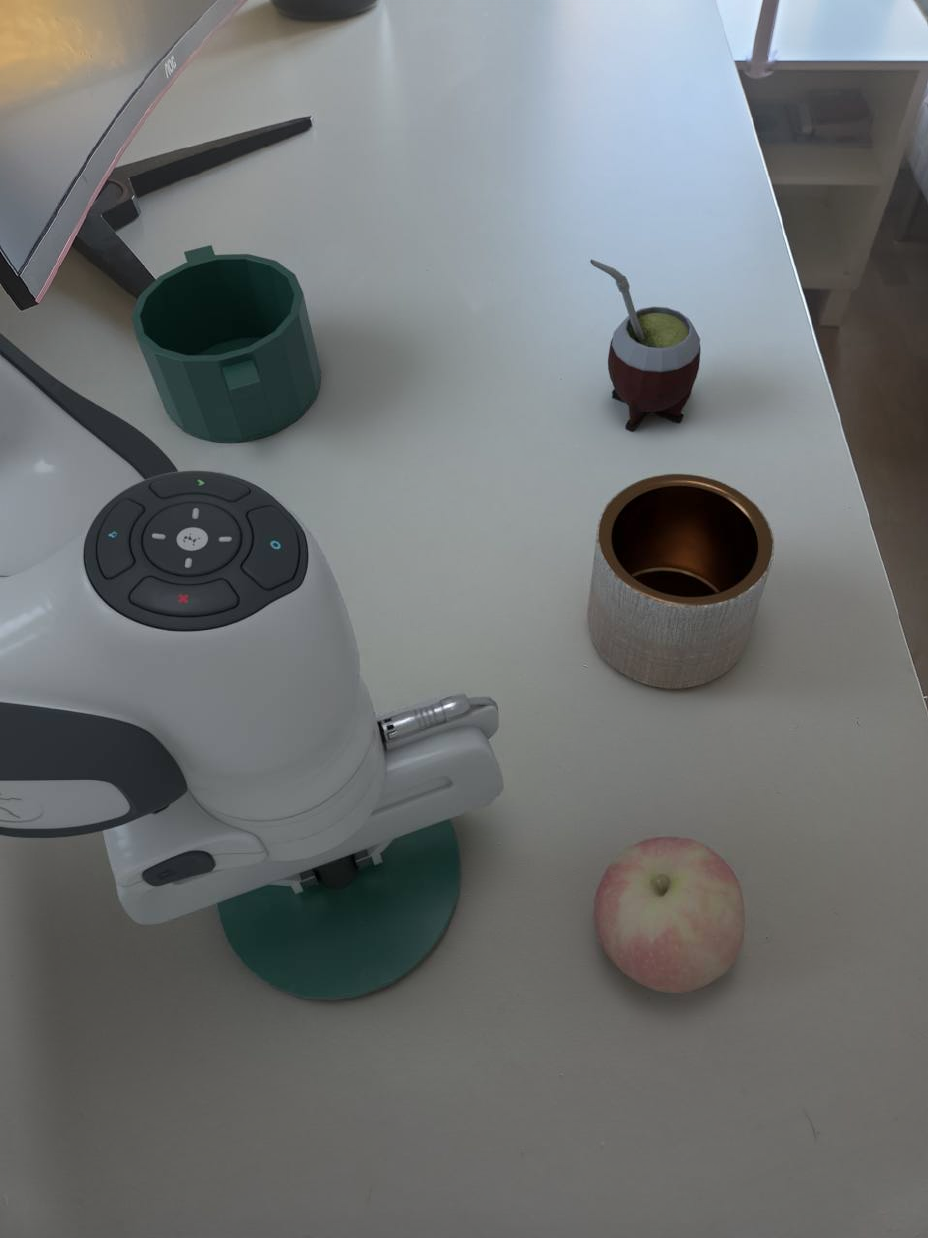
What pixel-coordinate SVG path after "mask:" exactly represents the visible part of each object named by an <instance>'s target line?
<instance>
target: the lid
mask: <svg viewBox="0 0 928 1238" xmlns="http://www.w3.org/2000/svg"><path fill="white" fill-rule="evenodd" d="M380 855H381V858H382V861H383V862H382V863H379V864H377V865H373V866H371V867H368V868H365V869H362V870H358V867H357V864H356V862H355V858H354V855H353V854H351V855H348V856H345V857H342V858H340V859H337V860H334V861H331V862H329V863H326V864H323V865H320V866H318V867H315V868H314V870H315V872H316V874H317V876H318V878H319V882H320V885H319V886H316V887H314V888H311V889H309V890H306V891H303V892H300V893H298V894H295V892H294V890H293V889H292V887H291V886H280V885H269V884H268V885H266V886H263V887H260V888H257V889H254V890H252V891H249V892H246V893H243V894H241V895H238V896H235V897H233V898H230V899H227V900H224V901H222V902H219V903H216V909H217V916H218V919H219V923H220V926H221V929H222V932H223V934H224V936H225V938H226V940H227V942H228V944H229V946H230V947H231V949H232V950H233V952H234V953H235V955H236V957H237V958H238V959H239V960H240V961H241V962H242V963H243V964H244V965H245V967H246V968H247V969H248V970H249V971H250V972H251V973H253V974H254V975H255V976H256V977H257V978H259V979H260V980H261V981H262V982H264V983H266V984H268V985H269V986H271V987H272V988H274V989H276V990H279V991H281V992H283V993H287V994H288V995H291V996H295V997H298V998H299V997H300V998H303V999H308V1000H317V1001H338V1000H339V1001H341V1000H346V999H352V998H357V997H361V996H365V995H368V994H371V993H374V992H376V991H379V990H381V989H384V988H385V987H387V986H390V985H391V984H394V982H396V981H397V980H399V979H401V978H403V977H404V976H405V975H408V973H409V972H411V971H412V970H413V969H414V968H416V967H417V966H418V965H419V964H420V963H421V962H422V961H423V960H424V959H425V958H426V957H427V955H429V954H430V952H432V951H433V949H434V947H435V946H436V945H437V943H438V942H439V941H440V939H441V938H442V936H443V935H444V932H445V931H446V928H447V927H448V925H449V923H450V922H451V918H452V916H453V914H454V911H455V908H456V904H457V902H458V898H459V893H460V887H461V886H460V885H461V877H462V872H461V871H462V870H461V869H462V867H461V855H460V848H459V843H458V839H457V836H456V832H455V828H454V826H453V824H452V822H451V820H450V819H447V820H444V821H442V822H439V823H436V824H433V825H430V826H428V827H425V828H422V829H419V830H417V831H414V832H411V833H408V834H406V835H403V836H400V837H397V838H395V839H393V840H392V842H391V843H390V844H389V845H388V846H387V847H386V848H385V849H384V850H383V851H382V852H381V853H380Z"/></svg>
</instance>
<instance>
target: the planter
mask: <svg viewBox="0 0 928 1238" xmlns="http://www.w3.org/2000/svg"><path fill="white" fill-rule="evenodd" d="M593 555H594V556H593V562H592V571H591V579H590V587H589V594H588V604H587V623H588V630H589V634H590V637H591V639H592V642H593V644H594V646H595V648H596V650H597V651H598V653H599V654H600V655H601V656H602V658H603V659H604V660H605V661H606V663H608V664H609V665H610V666H611V667H612V668H614V669H615V670H616V671H618V672H619V673H620V674H622V675H624V676H625V677H627V678H628V679H631V680H633V681H635V682H638V683H641V684H643V685H647V686H651V687H655V688H661V689H675V690H676V689H687V688H693V687H694V688H695V687H697V686H701V685H704V684H707V683H709V682H713V680H716V679H718V678H720V677H721V676H722V675H724V674H725V673H727V672H728V671H729V670H730V669H731V668H732V667H733V666H734V665H735V663H737V661H738V660H739V658H740V657H741V655H742V654H743V652H744V650H745V648H746V646H747V644H748V640H749V637H750V634H751V631H752V628H753V626H754V625H753V624H754V623H755V622H754V621H755V618H756V614H757V611H758V608H759V604H760V602H761V598H762V595H763V592H764V589H765V585H766V582H767V579H768V576H769V574H770V570H771V567H772V564H773V562H774V561H773V560H774V556H775V538H774V533H773V530H772V528H771V525H770V523H769V521H768V519H767V517H766V515H765V514H764V513H763V511H762V510H761V508H759V506H758V505H757V504H756V503H755V502H754V501H753V500H751V499H750V498H749V497H748V496H747V495H746V494H744V493H743V492H741V491H740V490H738V489H737V488H735V487H732V486H731V485H729V484H727V483H725V482H722V481H720V480H717V479H714V478H711V477H707V476H704V475H697V474H689V473H667V474H658V475H654V476H650V477H646V478H642V479H640V480H638V481H635V482H633V483H631V484H629V485H627V486H626V487H624V488H623V489H621V490H620V491H619V492H617V493H616V494H615V495H613V497H612V498H611V499H610V500H609V501H608V503H606V505H605V507H604V508H603V510H602V512H601V514H600V516H599V519H598V523H597V526H596V535H595V543H594V552H593Z"/></svg>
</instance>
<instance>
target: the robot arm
mask: <svg viewBox="0 0 928 1238" xmlns="http://www.w3.org/2000/svg"><path fill="white" fill-rule="evenodd" d="M369 691H370V690H369V687H368V686H367V685H366V682H365V680H364V678H363V677H362V674H361V658H360V652H359V645H358V643H357V639H356V634H355V631H354V627H353V624H352V621H351V618H350V615H349V612H348V609H347V606H346V603H345V601H344V598H343V595H342V591H341V590H340V587H339V585H338V583H337V580H336V578H335V575H334V572H333V571H332V568H331V566H330V563H329V561H328V559H327V558H326V555H325V554H324V552H323V550H322V548H321V547H320V545H319V543H318V541H317V540H316V538H315V536H314V535H313V534H312V532H311V531H310V529H309V528H308V527H307V525H306V524H305V523H304V521H302V519H301V518H300V517H299V516H298V514H296V513H295V512H294V511H293V510H292V509H291V508H290V507H288V505H286V504H285V502H283V501H282V500H281V499H279V498H278V497H277V496H275V495H274V494H273V493H271V492H270V491H269V490H267V489H265V488H264V487H262V486H260V485H258V484H257V483H254V482H253V481H251V480H248V479H245V478H242V477H240V476H238V475H233V474H230V473H226V472H220V471H214V470H200V469H199V470H197V469H195V470H194V469H193V470H181V471H180V470H178V469H177V466H176V465H175V464H174V463H173V461H172V460H171V459H170V458H169V456H168V455H167V454H166V453H165V452H164V451H163V450H162V449H161V448H160V447H159V446H158V445H157V444H156V443H155V442H154V441H153V440H152V439H151V438H149V437H148V436H147V435H145V434H144V433H143V432H142V431H140V430H139V429H138V428H137V427H135V426H134V425H132V424H131V423H129V422H127V421H126V420H124V419H123V418H121V417H120V416H118V415H116V414H114V413H113V412H111V411H109V410H107V409H106V408H104V407H102V406H100V405H99V404H98V403H96V402H93V401H92V400H90V399H88V398H86V397H85V396H83V395H81V394H80V393H78V392H77V391H75V390H73V389H72V388H71V387H69V386H67V385H66V384H64V383H63V382H62V381H60V380H59V379H57V378H56V377H55V376H53V374H51V373H50V372H48V371H47V370H46V369H44V368H43V367H42V366H40V365H39V363H36V362H35V361H34V360H33V359H31V357H29V356H28V355H27V354H26V353H25V352H24V351H22V350H21V349H20V348H19V347H17V345H15V344H14V343H13V342H11V341H10V340H9V339H8V337H6V336H4V335H3V334H2V333H1V332H0V836H3V837H11V838H20V839H54V838H55V839H56V838H69V837H78V836H83V835H90V834H94V833H98V832H102V835H103V840H104V844H105V848H106V853H107V856H108V860H109V864H110V868H111V870H112V873H113V876H114V882H115V888H116V894H117V898H118V901H119V903H120V905H121V907H122V908H123V910H124V912H125V913H126V914H127V915H128V916H129V917H130V919H132V921H134V922H135V923H137V924H139V925H159V924H164V923H168V922H169V921H172V920H174V919H177V918H180V917H183V916H186V915H188V914H191V913H194V912H196V911H197V912H198V911H199V910H202V909H205V908H207V907H210V906H211V907H212V906H213V905H217V903H219V902H222V901H224V900H227V899H230V898H233V897H235V896H238V895H241V894H243V893H246V892H249V891H252V890H254V889H257V888H260V887H263V886H266V885H268V884H269V885H280V886H291V887H292V889H293V890H294V892H295V894H298V893H300V892H303V891H306V890H309V889H311V888H314V887H316V886H319V885H320V882H319V878H318V876H317V874H316V872H315V870H314V868H315V867H318V866H320V865H323V864H326V863H329V862H331V861H334V860H337V859H340V858H342V857H345V856H348V855H351V854H353V855H354V858H355V862H356V864H357V867H358V870H362V869H365V868H368V867H371V866H373V865H377V864H379V863H382V862H383V861H382V858H381V855H380V853H381V852H382V851H383V850H384V849H385V848H386V847H387V846H388V845H389V844H390V843H391V842H392V840H393V839H395V838H397V837H400V836H403V835H406V834H408V833H411V832H414V831H417V830H419V829H422V828H425V827H428V826H430V825H433V824H436V823H439V822H442V821H444V820H447V819H449V820H450V819H452V818H455V817H458V816H460V815H464V814H466V813H468V812H472V811H474V810H477V809H481V808H483V807H485V806H487V805H490V804H491V803H492V802H493V801H494V800H496V798H497V797H498V796H500V795H501V793H503V791H504V778H503V774H502V771H501V768H500V765H499V762H498V759H497V757H496V754H495V752H494V749H493V747H492V744H491V742H490V739H491V738H492V737H493V736H494V735H496V733H497V731H498V729H499V726H500V724H499V723H500V722H499V706H498V704H497V702H496V700H494V699H493V697H491V696H490V695H484V696H474V697H473V696H472V697H469V698H468V696H467V695H466V694H465V693H457V694H448V695H447V694H446V695H441V696H437V697H433V698H429V699H426V700H424V701H421V702H418V703H414V704H412V705H408V706H405V707H403V708H400V709H397V710H394V711H391V712H388V713H385V714H381V715H379V716H376V713H375V709H374V704H373V700H372V696H371V694H370V692H369Z"/></svg>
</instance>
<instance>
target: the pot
mask: <svg viewBox="0 0 928 1238" xmlns="http://www.w3.org/2000/svg"><path fill="white" fill-rule="evenodd" d="M183 254H184V257H185V260H186V262H184V263H182V264H180V265H179V266H177V267H175V268H172V269H171V270H168V271H167V272H164V273H163V274H161V275H160V276H158V277H157V278H156V279H155V280H154V281H153V282H152V283H151V284H150V285H149V286H148V287H147V288H145V290H143V292H141V294H140V295H139V296H138V298H137V301H136V303H135V305H134V308H133V311H132V314H131V316H130V317H131V318H130V319H131V323H132V327H133V330H134V334H135V337H136V340H137V343H138V345H139V347H140V350H141V353H142V355H143V358H144V360H145V362H146V365H147V367H148V370H149V372H150V376H151V377H152V380H153V382H154V385H155V387H156V390H157V392H158V395H159V397H160V400H161V402H162V404H163V407H164V409H165V411H166V414H167V415H168V417H170V419H171V421H172V422H173V423H174V424H175V425H176V426H177V427H178V429H181V430H182V432H185V433H187V434H188V435H190V436H192V437H195V438H197V439H199V440H204V441H208V442H214V443H221V444H223V443H225V444H226V443H227V444H232V443H243V442H244V443H245V442H251V441H255V440H259V439H262V438H265V437H268V436H271V435H273V434H276V433H278V432H280V431H282V430H284V429H286V428H288V427H289V426H291V425H292V424H294V423H295V422H297V421H298V420H299V419H300V418H301V417H302V416H304V415H305V413H306V412H308V410H309V409H310V408H311V407H312V405H313V403H314V402H315V400H316V399H317V396H318V394H319V390H320V388H321V379H322V378H321V373H322V370H321V367H320V361H319V357H318V352H317V348H316V344H315V339H314V334H313V329H312V327H311V325H312V324H311V322H310V321H311V320H310V317H309V312H308V308H307V307H308V306H307V303H306V300H305V298H306V297H305V294H304V291H303V289H302V286H301V284H300V282H299V280H298V278H297V275H296V274H295V273H294V272H293V271H291V270H290V269H289V268H287V267H285V266H284V265H283V264H281V263H280V262H278V261H277V260H274V259H270V258H266V257H263V256H258V255H255V254H250V253H240V254H239V253H236V254H235V253H233V254H232V253H231V254H227V253H226V254H215V251H214V248H213V246H212V244H209V245H205V246H201V247H198V248H193V249H190V250H186V251H184V252H183Z"/></svg>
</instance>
